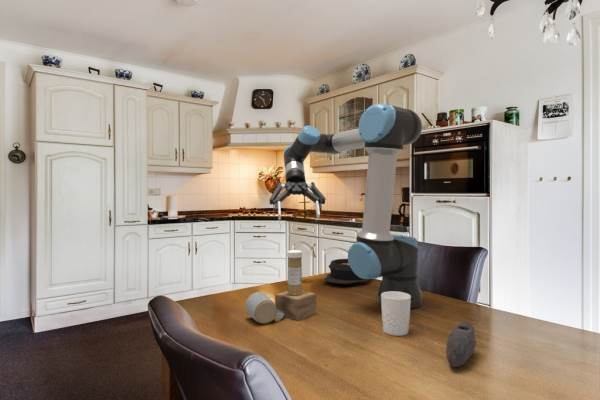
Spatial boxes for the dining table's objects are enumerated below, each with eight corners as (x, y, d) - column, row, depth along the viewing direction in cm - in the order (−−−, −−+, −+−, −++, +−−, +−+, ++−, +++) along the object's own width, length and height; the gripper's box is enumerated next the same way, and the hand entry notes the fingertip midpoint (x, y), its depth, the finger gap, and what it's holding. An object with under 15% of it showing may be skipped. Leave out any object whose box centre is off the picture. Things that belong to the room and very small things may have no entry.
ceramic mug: (254, 327, 108) (255, 299, 108) (244, 318, 115) (245, 292, 115) (288, 321, 113) (289, 295, 113) (277, 313, 120) (277, 289, 120)
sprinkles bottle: (292, 291, 123) (292, 249, 122) (304, 293, 120) (304, 250, 120) (284, 294, 119) (284, 251, 118) (296, 296, 116) (296, 252, 116)
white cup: (411, 328, 107) (411, 292, 107) (409, 338, 100) (410, 300, 100) (382, 325, 110) (382, 290, 110) (378, 334, 103) (379, 297, 102)
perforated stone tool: (463, 376, 80) (463, 343, 80) (437, 369, 83) (437, 337, 83) (479, 351, 92) (479, 323, 92) (456, 346, 95) (456, 318, 95)
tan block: (316, 313, 120) (316, 293, 120) (297, 320, 113) (297, 299, 113) (294, 307, 126) (294, 288, 126) (275, 314, 119) (275, 294, 119)
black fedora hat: (345, 273, 178) (345, 255, 178) (382, 279, 167) (382, 260, 166) (313, 283, 159) (313, 263, 159) (352, 291, 147) (352, 269, 147)
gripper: (325, 182, 152) (333, 223, 138) (262, 183, 150) (263, 224, 135) (328, 168, 147) (336, 209, 132) (262, 168, 145) (263, 210, 130)
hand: (299, 217), depth 134 cm, fingers open, 13 cm apart
